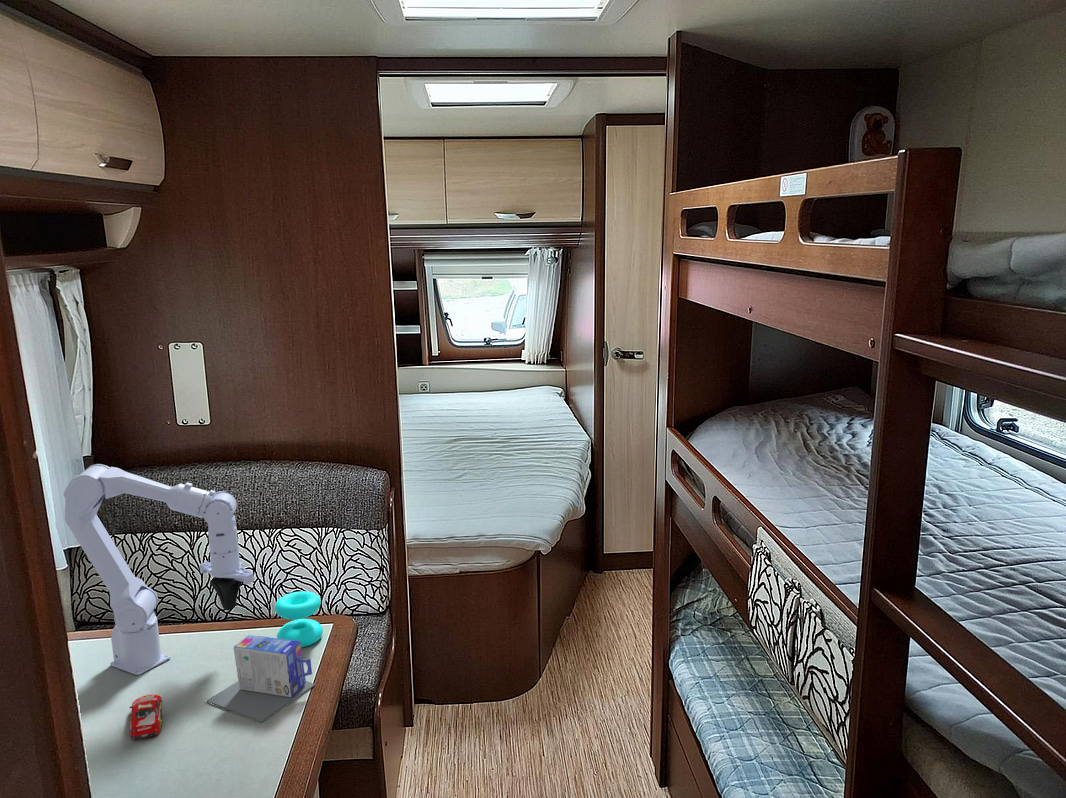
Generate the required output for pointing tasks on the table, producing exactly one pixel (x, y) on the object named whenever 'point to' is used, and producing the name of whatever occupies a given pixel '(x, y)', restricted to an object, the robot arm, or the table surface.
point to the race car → (146, 717)
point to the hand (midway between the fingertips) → (229, 608)
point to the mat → (254, 701)
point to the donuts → (299, 617)
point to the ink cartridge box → (270, 665)
